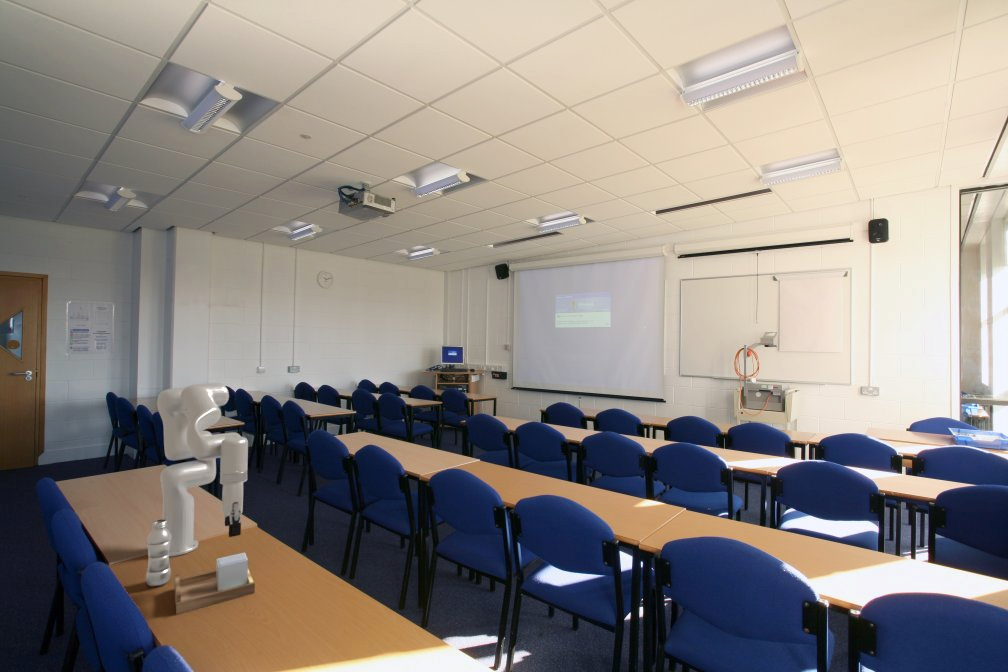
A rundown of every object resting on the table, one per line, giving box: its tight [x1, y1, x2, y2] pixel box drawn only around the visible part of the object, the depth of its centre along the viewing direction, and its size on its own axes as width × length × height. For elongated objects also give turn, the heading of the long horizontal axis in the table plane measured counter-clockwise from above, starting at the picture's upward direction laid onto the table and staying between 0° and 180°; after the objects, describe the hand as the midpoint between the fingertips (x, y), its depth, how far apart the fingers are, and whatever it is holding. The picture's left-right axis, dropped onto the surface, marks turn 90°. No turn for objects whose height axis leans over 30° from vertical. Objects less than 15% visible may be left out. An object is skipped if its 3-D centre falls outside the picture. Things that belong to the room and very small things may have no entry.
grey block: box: [215, 552, 249, 591], centre depth 150 cm, size 6×8×8 cm
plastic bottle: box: [145, 518, 172, 587], centre depth 151 cm, size 6×7×20 cm
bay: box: [173, 568, 256, 616], centre depth 147 cm, size 16×20×5 cm
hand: (232, 530), depth 150 cm, fingers open, 9 cm apart
